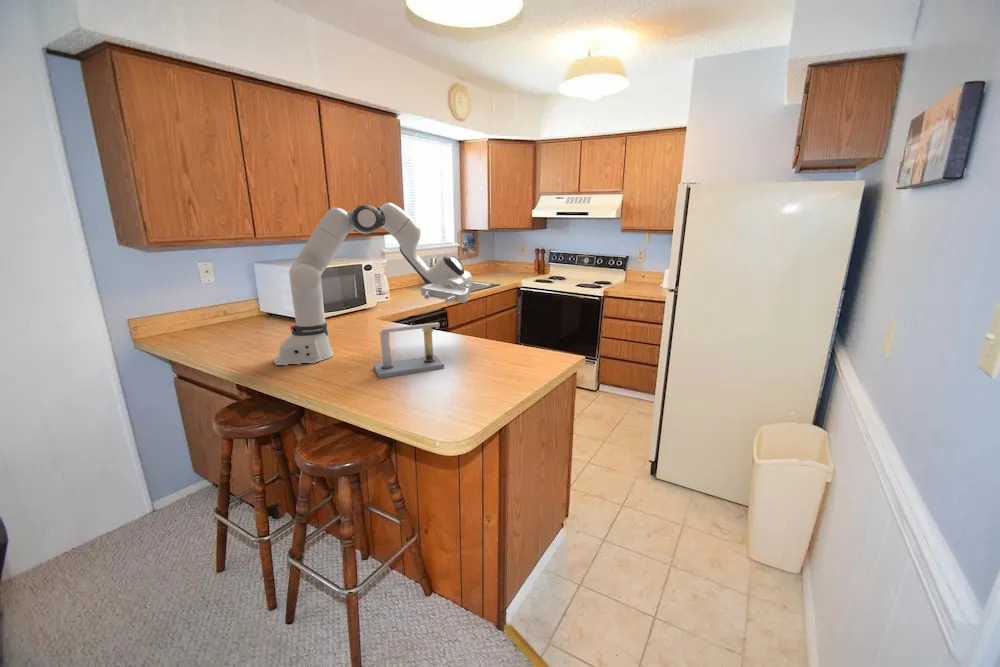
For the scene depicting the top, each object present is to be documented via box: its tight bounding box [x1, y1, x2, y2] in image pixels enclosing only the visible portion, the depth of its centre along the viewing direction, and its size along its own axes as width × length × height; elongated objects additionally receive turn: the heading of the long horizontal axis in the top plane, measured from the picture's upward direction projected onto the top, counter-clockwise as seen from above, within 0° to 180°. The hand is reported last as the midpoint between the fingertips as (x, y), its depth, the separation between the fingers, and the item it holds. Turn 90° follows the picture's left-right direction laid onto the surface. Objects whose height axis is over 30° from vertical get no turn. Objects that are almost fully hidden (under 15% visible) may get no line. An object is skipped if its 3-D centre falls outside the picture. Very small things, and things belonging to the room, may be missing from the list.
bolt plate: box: [373, 322, 445, 379], centre depth 160 cm, size 24×12×16 cm, turn 114°
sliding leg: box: [422, 327, 434, 360], centre depth 163 cm, size 3×3×12 cm
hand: (436, 298), depth 172 cm, fingers open, 8 cm apart
